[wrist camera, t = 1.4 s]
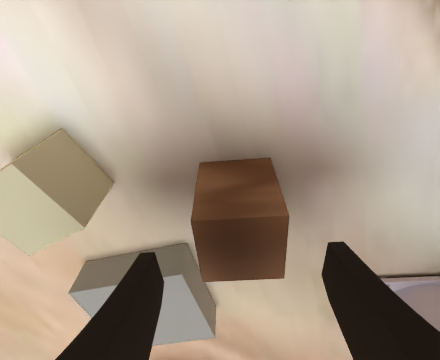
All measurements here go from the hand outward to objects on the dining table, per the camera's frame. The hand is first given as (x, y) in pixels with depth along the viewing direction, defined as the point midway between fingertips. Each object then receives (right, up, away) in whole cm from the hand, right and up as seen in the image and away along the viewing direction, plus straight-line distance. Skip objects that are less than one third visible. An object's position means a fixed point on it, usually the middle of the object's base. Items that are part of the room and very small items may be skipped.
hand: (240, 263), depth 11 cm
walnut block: (0, +3, +5) cm, 6 cm away
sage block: (-10, +4, +4) cm, 12 cm away
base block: (-6, -5, +10) cm, 13 cm away
